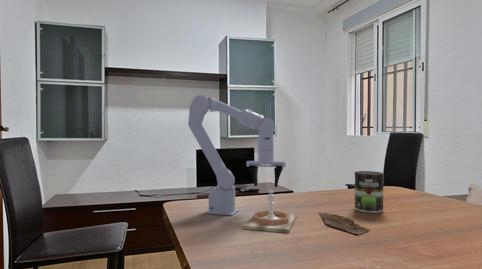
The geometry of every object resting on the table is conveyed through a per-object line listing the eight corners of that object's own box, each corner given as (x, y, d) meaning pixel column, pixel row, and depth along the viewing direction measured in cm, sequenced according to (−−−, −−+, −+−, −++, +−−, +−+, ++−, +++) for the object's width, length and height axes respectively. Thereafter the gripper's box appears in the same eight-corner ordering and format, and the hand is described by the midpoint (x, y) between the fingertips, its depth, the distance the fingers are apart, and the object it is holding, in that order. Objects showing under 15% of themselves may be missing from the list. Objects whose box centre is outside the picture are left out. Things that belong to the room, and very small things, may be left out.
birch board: (243, 228, 98) (243, 225, 98) (257, 214, 115) (257, 211, 115) (289, 232, 94) (289, 229, 94) (296, 217, 111) (296, 214, 111)
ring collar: (250, 223, 100) (250, 218, 100) (258, 213, 111) (258, 209, 111) (286, 226, 97) (286, 221, 97) (291, 216, 108) (291, 211, 108)
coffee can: (384, 214, 114) (384, 175, 114) (353, 211, 118) (353, 173, 118) (383, 207, 123) (383, 171, 123) (355, 205, 127) (355, 170, 127)
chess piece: (262, 218, 105) (262, 188, 105) (277, 218, 106) (276, 188, 106) (264, 222, 100) (264, 191, 100) (280, 222, 101) (280, 190, 101)
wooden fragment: (377, 235, 92) (376, 231, 92) (341, 237, 90) (341, 234, 90) (337, 213, 117) (337, 210, 117) (308, 214, 116) (308, 211, 116)
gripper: (244, 150, 117) (244, 187, 117) (283, 150, 113) (283, 188, 113) (249, 149, 124) (249, 183, 124) (286, 149, 120) (286, 185, 120)
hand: (266, 186), depth 119 cm, fingers open, 7 cm apart
